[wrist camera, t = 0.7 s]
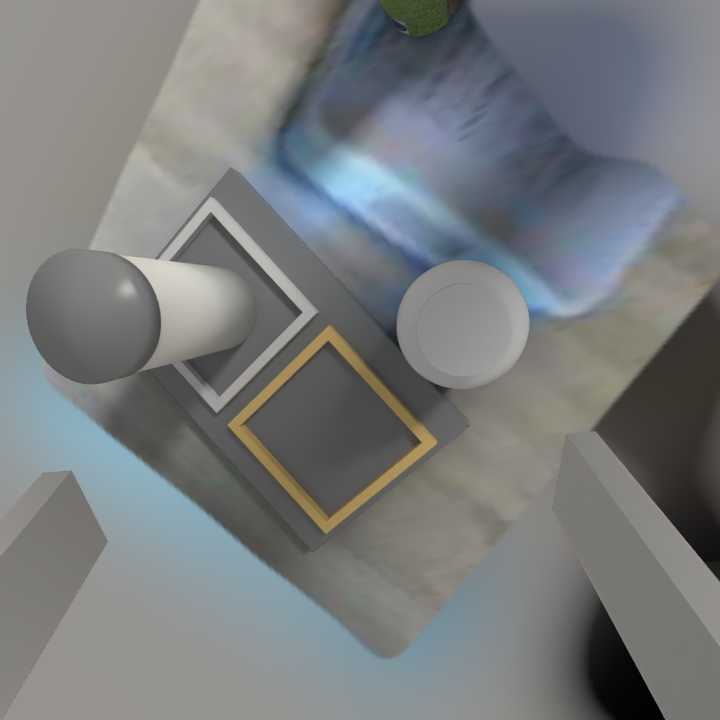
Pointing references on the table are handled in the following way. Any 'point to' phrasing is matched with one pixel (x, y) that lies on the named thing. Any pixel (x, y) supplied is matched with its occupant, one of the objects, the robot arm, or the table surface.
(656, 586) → the robot arm
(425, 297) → the pill bottle
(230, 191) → the grey base plate
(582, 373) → the table surface
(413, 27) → the beverage can
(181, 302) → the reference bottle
